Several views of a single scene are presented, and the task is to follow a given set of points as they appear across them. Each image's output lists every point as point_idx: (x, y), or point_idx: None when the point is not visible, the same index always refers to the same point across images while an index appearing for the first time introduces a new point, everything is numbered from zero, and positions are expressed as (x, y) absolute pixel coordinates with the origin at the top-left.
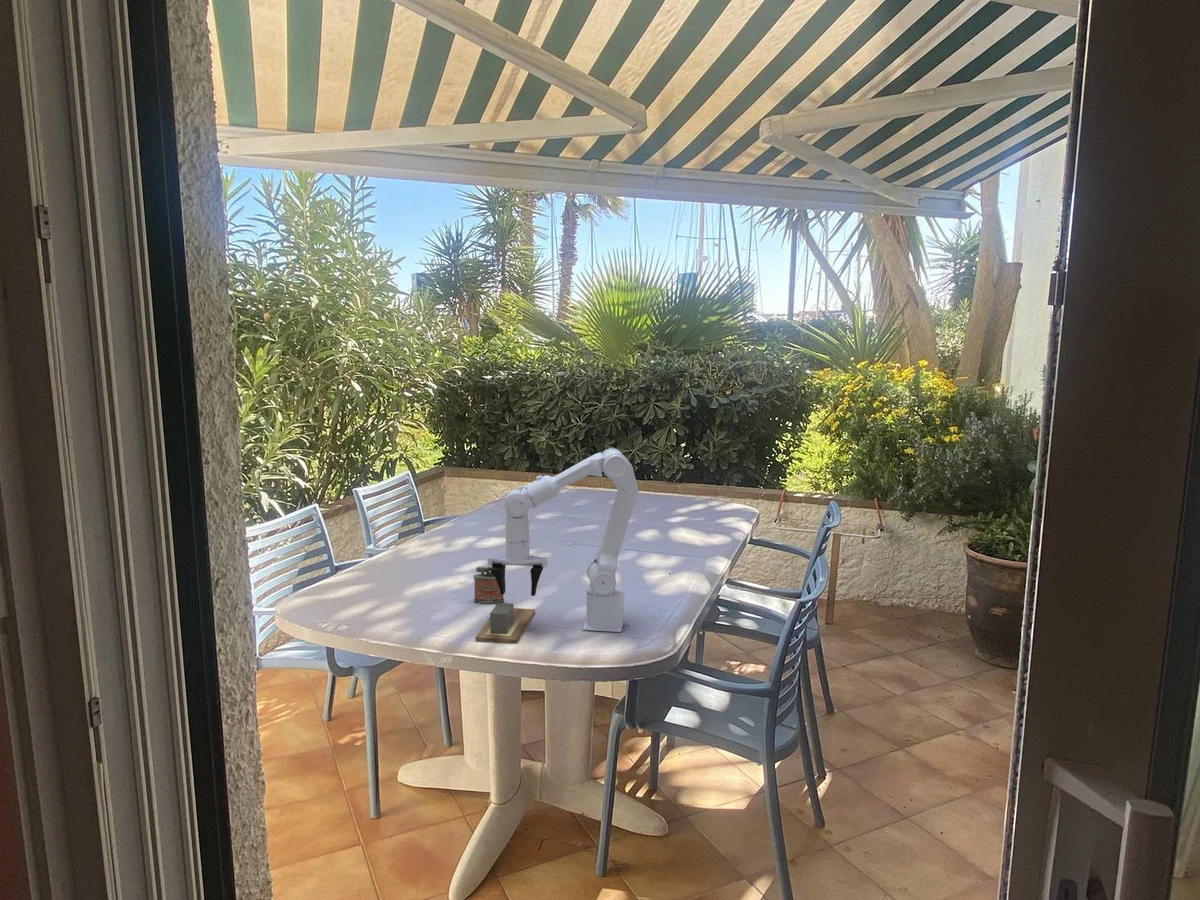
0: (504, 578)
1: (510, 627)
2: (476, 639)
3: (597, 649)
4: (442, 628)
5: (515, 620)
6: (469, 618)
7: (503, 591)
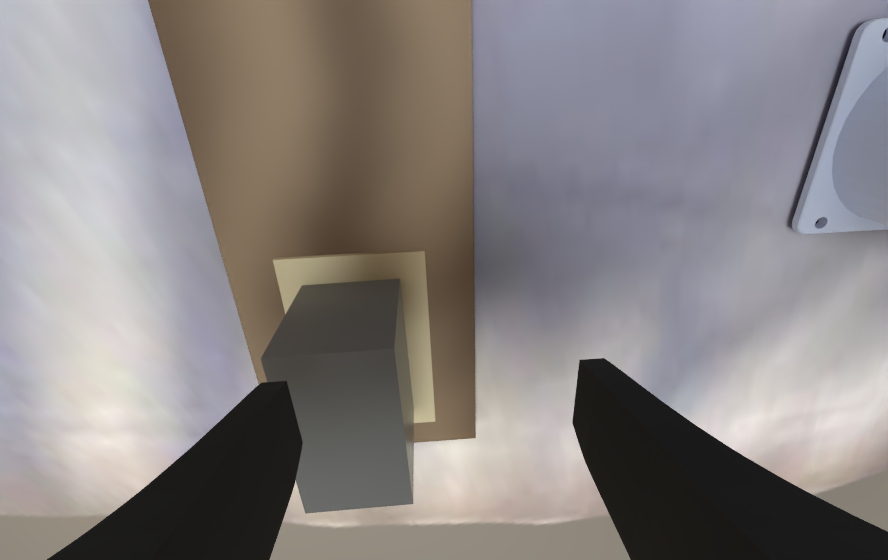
0: (212, 507)
1: (407, 350)
2: None
3: (812, 402)
4: (26, 348)
5: (393, 225)
6: (59, 179)
7: (292, 456)
